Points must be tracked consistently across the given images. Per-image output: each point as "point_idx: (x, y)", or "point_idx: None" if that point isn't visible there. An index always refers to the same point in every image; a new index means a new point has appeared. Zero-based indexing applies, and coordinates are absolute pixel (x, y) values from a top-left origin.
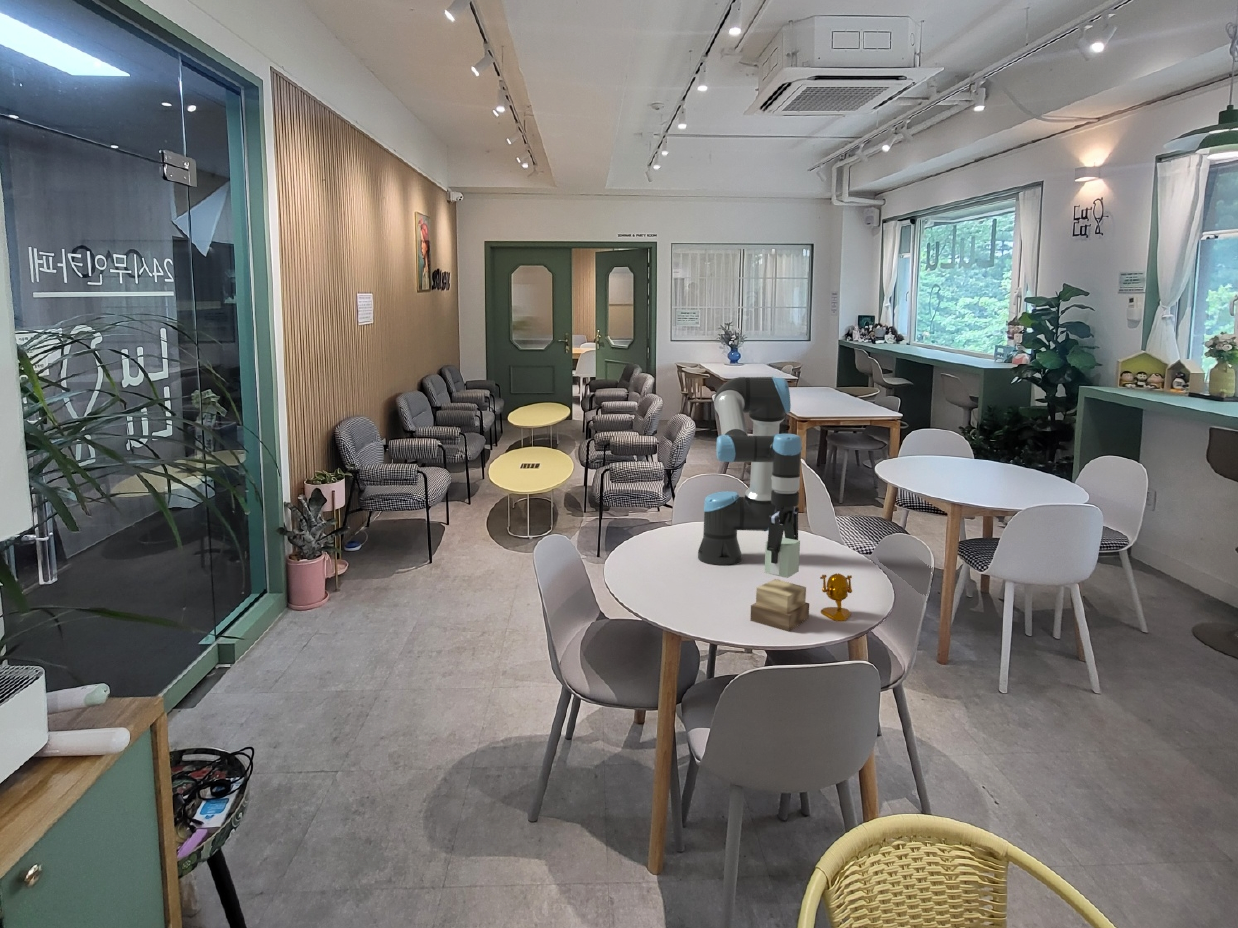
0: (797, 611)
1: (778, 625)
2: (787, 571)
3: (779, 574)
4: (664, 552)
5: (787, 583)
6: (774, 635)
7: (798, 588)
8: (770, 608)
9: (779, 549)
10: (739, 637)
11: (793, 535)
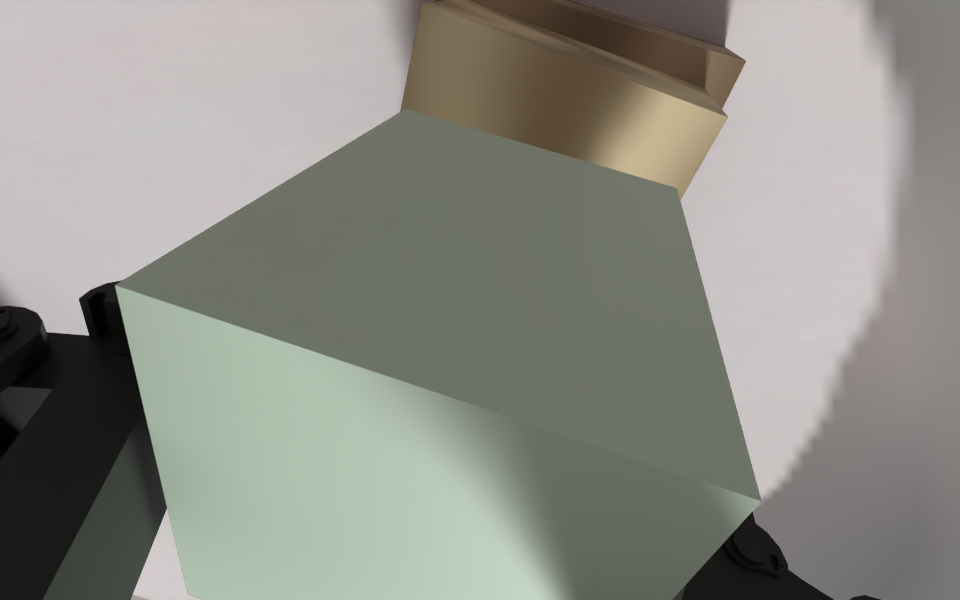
0: (622, 22)
1: None
2: (684, 219)
3: None
4: (169, 552)
5: None
6: (807, 118)
7: (486, 65)
8: None
9: (718, 552)
10: (866, 284)
11: (50, 475)
